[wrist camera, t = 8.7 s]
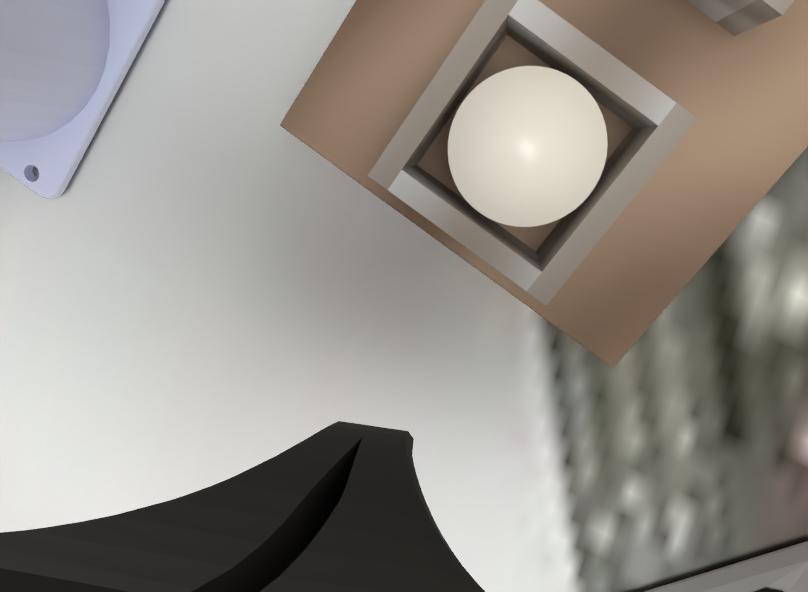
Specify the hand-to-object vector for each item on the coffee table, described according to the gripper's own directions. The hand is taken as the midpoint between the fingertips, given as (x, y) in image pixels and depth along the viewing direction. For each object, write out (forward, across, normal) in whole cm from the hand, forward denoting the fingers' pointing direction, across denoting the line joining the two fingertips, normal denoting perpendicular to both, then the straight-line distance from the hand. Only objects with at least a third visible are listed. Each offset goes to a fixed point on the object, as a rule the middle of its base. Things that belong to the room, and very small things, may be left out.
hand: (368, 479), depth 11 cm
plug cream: (+9, -2, -6) cm, 11 cm away
